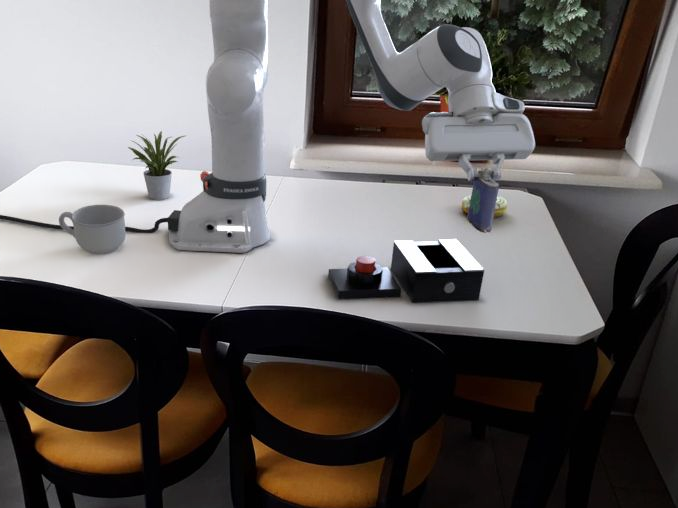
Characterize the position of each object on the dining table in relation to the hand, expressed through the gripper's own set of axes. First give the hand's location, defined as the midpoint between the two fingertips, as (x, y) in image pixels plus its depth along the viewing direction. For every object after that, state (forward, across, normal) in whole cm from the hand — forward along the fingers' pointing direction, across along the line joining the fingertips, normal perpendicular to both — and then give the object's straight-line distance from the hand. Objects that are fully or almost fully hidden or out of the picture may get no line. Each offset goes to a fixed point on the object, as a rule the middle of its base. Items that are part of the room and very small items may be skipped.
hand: (485, 179), depth 129 cm
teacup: (-2, -74, +30) cm, 80 cm away
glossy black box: (+15, -7, +14) cm, 22 cm away
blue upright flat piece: (+6, 0, +6) cm, 9 cm away
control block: (+15, -21, +14) cm, 30 cm away
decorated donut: (-12, +18, +42) cm, 48 cm away
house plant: (-26, -60, +54) cm, 85 cm away
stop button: (+13, -21, +11) cm, 27 cm away
